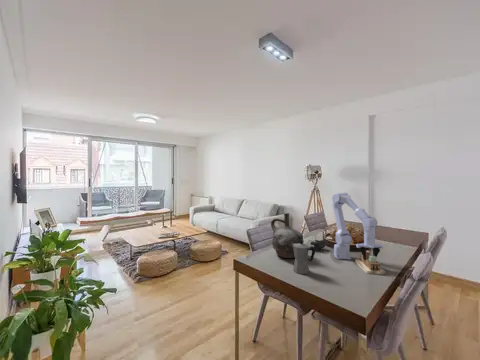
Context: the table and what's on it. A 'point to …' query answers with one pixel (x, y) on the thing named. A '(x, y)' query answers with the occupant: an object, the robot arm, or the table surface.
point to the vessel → (285, 238)
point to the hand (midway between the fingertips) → (369, 259)
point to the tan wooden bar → (370, 263)
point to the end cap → (318, 245)
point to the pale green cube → (371, 258)
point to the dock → (368, 268)
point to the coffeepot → (302, 257)
